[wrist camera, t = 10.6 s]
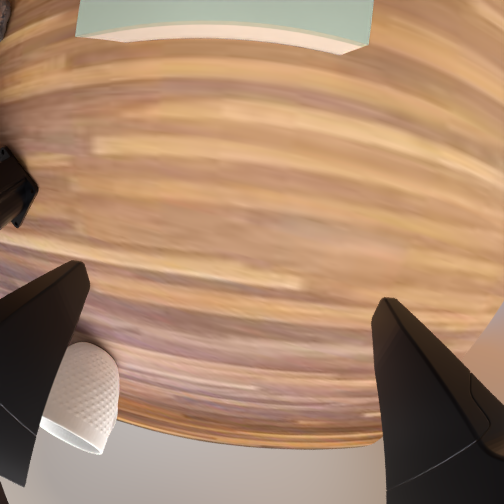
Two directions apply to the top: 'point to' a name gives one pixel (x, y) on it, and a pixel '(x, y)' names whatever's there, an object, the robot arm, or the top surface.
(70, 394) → the mug
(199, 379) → the top surface
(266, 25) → the green and cream box
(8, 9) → the perforated stone tool
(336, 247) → the top surface
